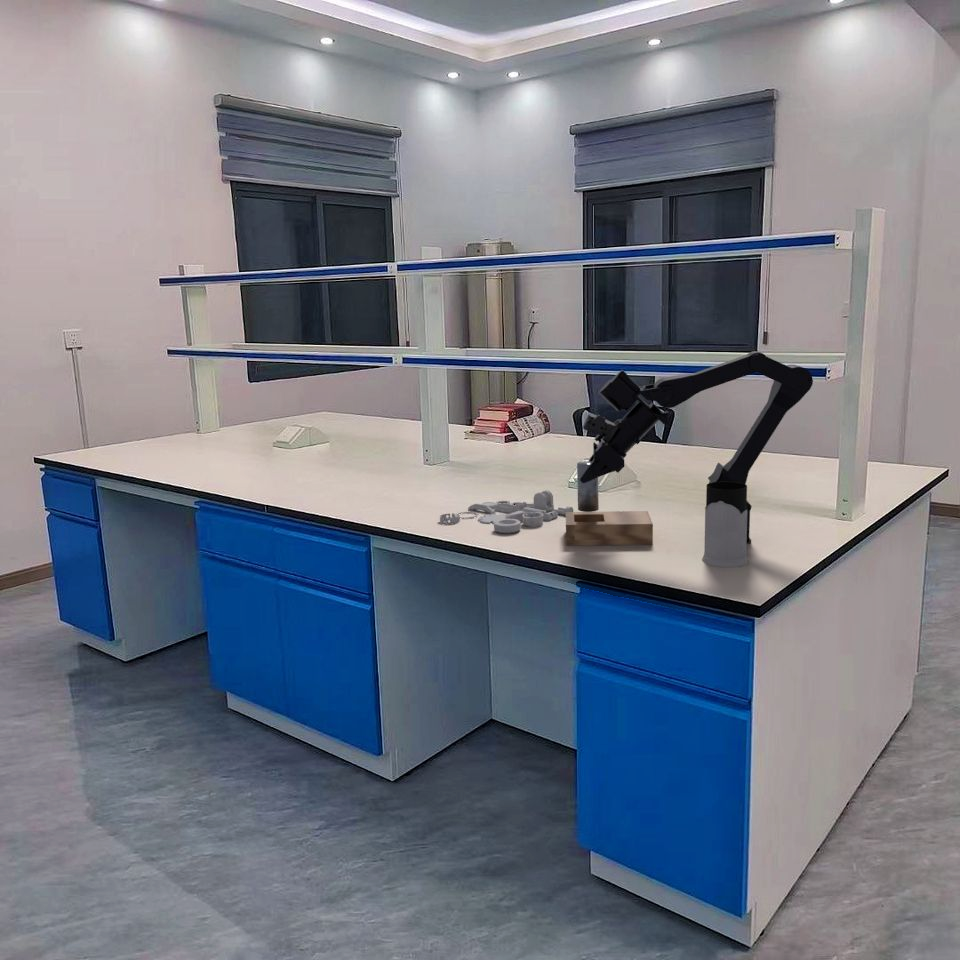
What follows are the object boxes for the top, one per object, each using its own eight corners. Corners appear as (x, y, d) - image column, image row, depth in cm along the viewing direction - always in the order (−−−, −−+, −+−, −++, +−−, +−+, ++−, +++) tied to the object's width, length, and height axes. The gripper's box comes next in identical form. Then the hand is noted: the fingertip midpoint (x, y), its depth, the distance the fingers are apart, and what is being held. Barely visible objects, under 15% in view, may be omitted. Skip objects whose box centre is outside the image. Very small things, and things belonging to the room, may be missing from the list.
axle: (601, 507, 186) (600, 461, 184) (595, 512, 182) (594, 465, 180) (581, 506, 187) (580, 460, 185) (575, 511, 184) (574, 464, 181)
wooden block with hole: (647, 530, 191) (647, 510, 191) (652, 544, 181) (652, 523, 180) (566, 531, 193) (565, 512, 192) (566, 545, 182) (565, 524, 182)
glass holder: (696, 563, 167) (697, 488, 164) (716, 544, 179) (718, 474, 176) (741, 569, 163) (743, 492, 160) (760, 549, 175) (762, 477, 171)
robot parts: (430, 524, 207) (428, 502, 206) (498, 502, 225) (497, 482, 224) (508, 540, 191) (507, 517, 190) (575, 515, 209) (575, 494, 208)
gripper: (604, 394, 188) (555, 445, 192) (606, 405, 170) (552, 461, 174) (641, 429, 189) (591, 479, 193) (647, 444, 171) (592, 499, 175)
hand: (581, 479), depth 183 cm, fingers closed on axle, 4 cm apart
